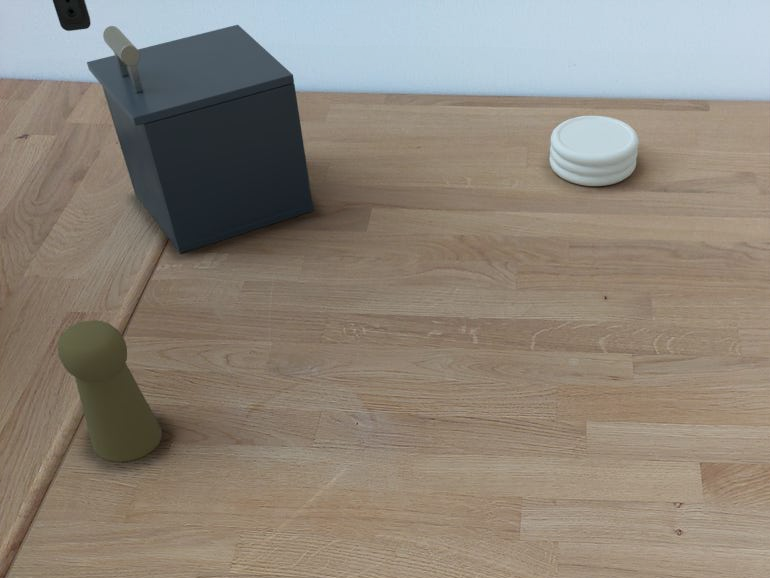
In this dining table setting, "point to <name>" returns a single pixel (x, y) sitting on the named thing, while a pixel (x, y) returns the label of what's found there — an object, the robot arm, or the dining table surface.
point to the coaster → (593, 150)
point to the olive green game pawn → (108, 392)
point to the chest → (219, 166)
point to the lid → (185, 72)
